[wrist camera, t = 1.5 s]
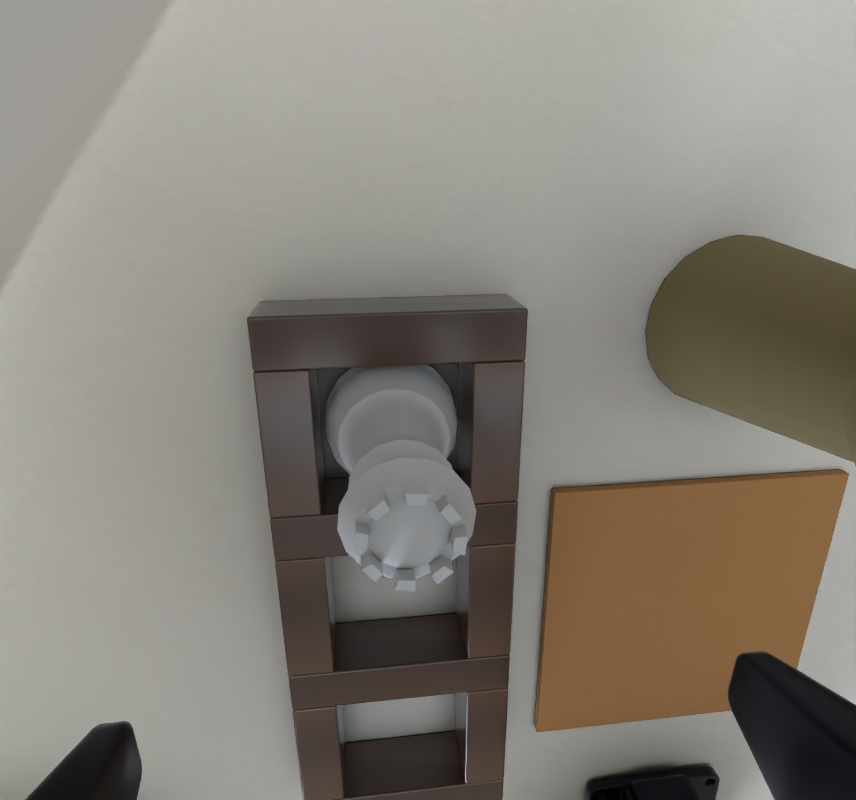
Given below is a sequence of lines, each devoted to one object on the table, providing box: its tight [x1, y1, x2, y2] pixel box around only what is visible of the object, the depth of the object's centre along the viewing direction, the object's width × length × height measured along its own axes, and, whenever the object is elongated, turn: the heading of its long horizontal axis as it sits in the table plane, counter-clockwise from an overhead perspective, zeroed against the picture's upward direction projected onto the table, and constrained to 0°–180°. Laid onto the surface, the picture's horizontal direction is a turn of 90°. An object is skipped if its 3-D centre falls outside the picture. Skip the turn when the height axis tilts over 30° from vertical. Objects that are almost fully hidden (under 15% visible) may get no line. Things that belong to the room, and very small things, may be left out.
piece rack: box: [247, 294, 528, 800], centre depth 21 cm, size 21×8×2 cm, turn 0°
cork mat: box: [534, 470, 849, 732], centre depth 25 cm, size 12×12×1 cm
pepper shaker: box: [646, 235, 856, 465], centre depth 15 cm, size 6×6×11 cm
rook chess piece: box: [325, 365, 476, 591], centre depth 16 cm, size 4×4×8 cm
